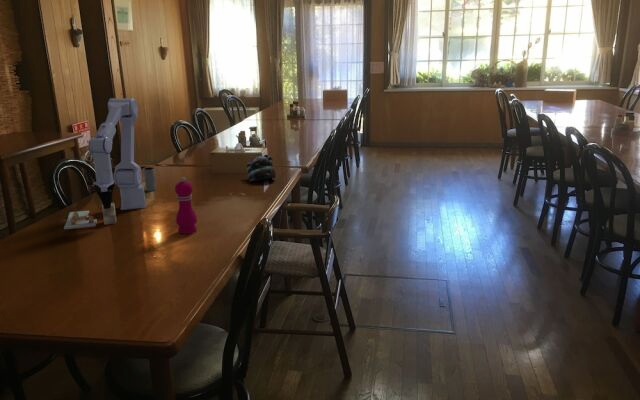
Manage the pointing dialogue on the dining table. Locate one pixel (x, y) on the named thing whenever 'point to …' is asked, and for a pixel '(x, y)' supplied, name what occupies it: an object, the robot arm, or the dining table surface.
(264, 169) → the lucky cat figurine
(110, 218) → the birch block
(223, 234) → the dining table surface
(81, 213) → the mat
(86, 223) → the wire base
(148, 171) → the grey upright cylinder
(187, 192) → the pepper mill
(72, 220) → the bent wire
